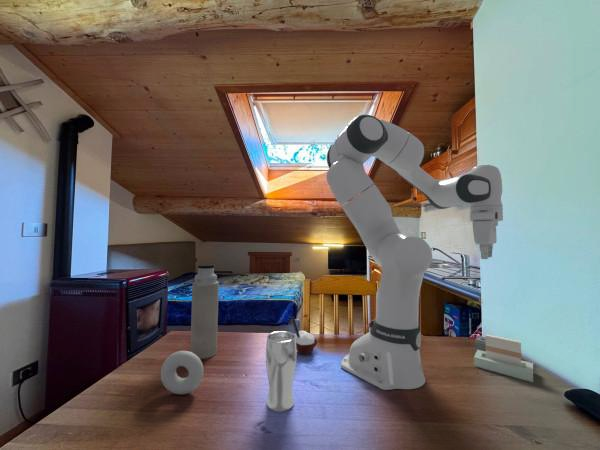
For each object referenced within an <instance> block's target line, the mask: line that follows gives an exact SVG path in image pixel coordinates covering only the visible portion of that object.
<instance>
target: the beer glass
mask: <svg viewBox="0 0 600 450" xmlns="http://www.w3.org/2000/svg"><path fill="white" fill-rule="evenodd" d="M297 353H298V352H297V349H296V333H293V332H291V331H285V330H277V331H273V332H270V333H269V334H267V336H266V347H265V364H266V374H267V379H268V394H267V399H266V406H267V407H268V409H269V410H271V411H273V412H275V413H276V412H277V413H280V412H281V413H283V412H287V411H289V410H291V409H292V408H293V407H294V404H295V400H294V393H293V382H294V378H295V377H294V376H295V371H296V365H297Z"/></svg>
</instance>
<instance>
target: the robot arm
mask: <svg viewBox="0 0 600 450" xmlns="http://www.w3.org/2000/svg"><path fill="white" fill-rule="evenodd" d="M424 156H425V147H424V144H423V143H422V142H421V139H419V138H418V137H416V136H415V135H413V134H412V133H410V132H408V131H407V130H405V129H404V128H402V127H400V126H398V125H396V124H394V123H392V122H389V121H388V120H384V119H379V118H378V117H376V116H374V115H370V114H360V115H358V116H357V117H354V118H353V119H352V120H351V121H350V122H349V123H348V125H347V126H346V127H345V128H344V129H343V130H342V131H341V132H340V133H339V134H338V135H337V137H336V138H335V140H334V141H333V143H332V144H331V145H330V146H329V148H328V151H327V154H326V163H327V166H328V170H327V172H326V176H325V177H326V181H327V183H328V186H329V188H330V190H331V193H332V194H333V196H334V198H335V200H336V201H337V203H338V205H339V206H340V207H341V210H343V211H344V213H345V215H346V216H347V217H348V219H349V221H350V222H351V224H352V225H353V226H354V228H355V230H356V231H357V233H358V235H359V237H360V239H361V241H362V242H363V244H364V246H365V248H366V250H367V252H368V253H369V254H370V256H371V258H372V261H374V262H375V264H377V266H379V267H380V268H381V274H380V280H379V285H378V288H377V290H376V293H375V298H376V299H375V317H374V319H372V320H370V322H369V323H367V328H368V329H369V331H368V332H367V333H365V334H363V335H362V336H360V337H358V338H357V339H355V340H354V342H352V344H351V346H350V349H349V352H348V354H346V355H345V356H344V357H343V358H342V360H341V363H340V368H342V369H343V370H345V371H347V372H349V373H351V374H352V375H354V376H356V377H358V378H360V379H362V380H364V381H366V382H367V383H369V384H371V385H373V386H374V387H377V388H379V389H381V390H383V391H389V390H397V389H398V390H414V389H418V388H420V387H422V386H424V385H425V383H426V377H425V374H424V370H423V367H422V360H421V353H420V348H421V343H422V340H421V339H422V335H421V334H422V333H421V326H420V324H419V317H420V316H419V310H420V308H419V307H420V306H419V304H420V300H419V299H420V292H421V288H422V284H423V279H424V276H425V273H426V272H427V270H428V269H429V268H430V266H431V263H432V261H433V251H432V248H431V246H430V245H429V243H428V242H426V240H424V239H423V238H421V237H420V236H417V235H415V234H413V233H410V232H402V231H401V230H400V229H399V228H398V225H397V223H396V221H395V219H394V217H393V214H392V208H391V206H390V204H389V203H388V201H387V200H386V198H385V197H384V196H383V194H382V193H381V191H380V189H379V188H378V187H377V185H376V184H375V182H374V181H373V179H372V178H371V177H370V176H369V175H368V173H366V170H365V167H364V164H366V162H368V160H370V158H371V157H375V158H376V159H378V160H380V161H381V162H383V164H385V165H387V166H389V167H390V168H391V169H392V170H394V171H396V173H397V174H398V176H400V178H401V179H403V180H404V181H406V182H407V183H408V184H409V185H411V186H412V187H413V188H414V189H416V190H417V191H419V192H420V193H421V194H422V195H423V196H424V197H425V198H426V199H427V201H428V202H429V204H430V205H431V206H433V208H436V209H439V210H444V209H448V208H452V207H459V206H460V207H461V206H466V205H467V206H468V205H469V222H472V232H473V240H474V243H475V245H479V247H478V248H479V252H480V259H481V260H487V259H489V258H492V257H493V249H494V244H496V243H497V240H498V239H497V227H498V226H499V222H501V221H503V220H504V218H503V217H504V216H503V213H504V212H503V211H504V209H503V206H504V205H503V202H502V194H503V182H502V181H503V180H502V174H501V171H500V169H499V168H498V167H497V166H494V165H491V164H487V165H486V164H485V165H484V164H481V165H477V166H476V165H475V166H474V167H472V169H471V170H469V171H468V172H467V171H466V172H465V173H463V174H460V175H456V176H453V177H451V178H447V179H436V178H434V177H433V176H431V175H430V174H429V173H428V172H426V171H425V170H424V169H423V168H421V166H420V165H421V164H422V161H423V159H424Z"/></svg>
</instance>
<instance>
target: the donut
mask: <svg viewBox="0 0 600 450" xmlns="http://www.w3.org/2000/svg"><path fill="white" fill-rule="evenodd" d="M179 367H184V368H185V369H186V370H187V372H188V374H187V375H188V376H186V377H180V376H179V375H178V373H177V368H179ZM204 372H205V370H204V365H203V362H202V360H201V359H200V358H199V357H198V356H197V355H196V354H194V353H192V352H190V351H188V350H179V351H178V350H177V351H175V352H173V353H171V354H170V355H169V356H168V357H167V358H165V360H164V362H163V364H162V365H161V368H160V380H161V383H162V384H163V387H165V389H166V391H169V392H170V393H172V394H173V395H186V394H189V393H191V392H193V391H195V390H196V389H197V388H198V387H199V385H201V383H202V380H203V378H204Z"/></svg>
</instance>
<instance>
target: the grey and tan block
mask: <svg viewBox="0 0 600 450" xmlns="http://www.w3.org/2000/svg"><path fill="white" fill-rule="evenodd" d="M474 346H475V347H474V348H475V349H474V351H475V354H476V352H477V350H481V351H485V352H486V336H485V337H484V336H479V335H478V336H477V338H476V339H475V343H474ZM475 354H474V355H475Z"/></svg>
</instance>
